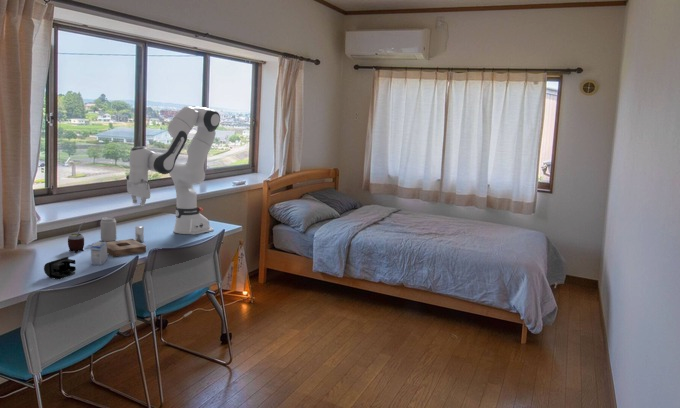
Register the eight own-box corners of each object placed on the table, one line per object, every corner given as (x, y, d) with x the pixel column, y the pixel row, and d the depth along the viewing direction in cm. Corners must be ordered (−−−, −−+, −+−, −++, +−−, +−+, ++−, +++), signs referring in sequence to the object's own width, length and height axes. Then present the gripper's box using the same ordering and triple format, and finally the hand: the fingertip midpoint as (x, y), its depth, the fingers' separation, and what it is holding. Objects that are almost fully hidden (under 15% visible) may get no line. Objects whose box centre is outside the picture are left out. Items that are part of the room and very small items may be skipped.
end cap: (63, 270, 226) (62, 255, 225) (76, 273, 224) (76, 257, 223) (43, 277, 217) (43, 261, 216) (57, 280, 215) (57, 264, 214)
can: (110, 243, 271) (110, 220, 269) (97, 241, 273) (97, 218, 270) (119, 239, 278) (119, 217, 276) (106, 238, 280) (106, 216, 278)
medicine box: (97, 259, 244) (97, 241, 242) (107, 260, 244) (107, 241, 243) (91, 264, 236) (90, 246, 234) (101, 265, 236) (100, 246, 235)
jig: (132, 244, 271) (132, 238, 271) (146, 251, 260) (146, 245, 260) (100, 248, 260) (100, 243, 260) (113, 256, 249) (112, 250, 249)
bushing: (141, 240, 280) (141, 225, 278) (144, 242, 277) (144, 227, 275) (134, 241, 277) (134, 226, 275) (137, 243, 274) (137, 228, 273)
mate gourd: (69, 249, 257) (67, 219, 254) (86, 248, 260) (86, 218, 257) (67, 253, 250) (66, 222, 247) (85, 252, 253) (84, 222, 250)
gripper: (153, 180, 266) (153, 207, 268) (136, 175, 280) (136, 201, 282) (141, 181, 261) (141, 208, 264) (124, 175, 276) (124, 201, 278)
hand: (138, 204), depth 273 cm, fingers open, 8 cm apart
